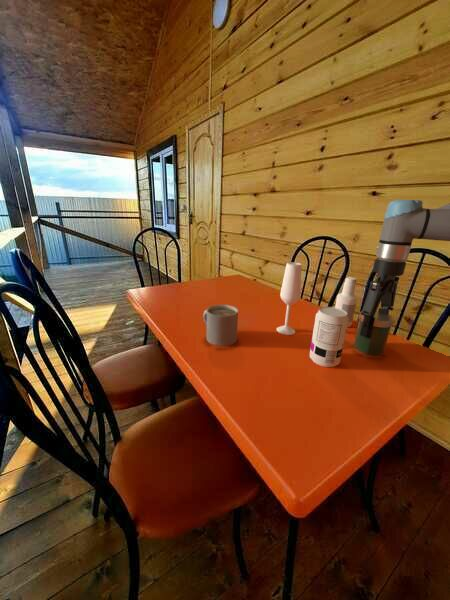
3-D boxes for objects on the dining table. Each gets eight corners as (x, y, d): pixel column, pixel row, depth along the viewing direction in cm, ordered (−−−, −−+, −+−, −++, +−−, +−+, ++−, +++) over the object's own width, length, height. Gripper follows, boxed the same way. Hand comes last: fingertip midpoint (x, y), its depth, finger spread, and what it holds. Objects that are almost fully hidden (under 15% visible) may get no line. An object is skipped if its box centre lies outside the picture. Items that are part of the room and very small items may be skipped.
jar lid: (354, 314, 82) (355, 308, 81) (384, 316, 80) (385, 311, 80) (365, 326, 73) (366, 320, 72) (398, 329, 72) (400, 322, 71)
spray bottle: (347, 329, 93) (357, 281, 87) (329, 323, 97) (337, 277, 91) (354, 324, 97) (364, 278, 91) (336, 318, 102) (344, 275, 96)
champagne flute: (274, 326, 93) (281, 261, 85) (292, 326, 94) (300, 261, 86) (279, 334, 87) (287, 265, 79) (298, 334, 87) (308, 265, 79)
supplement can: (303, 355, 75) (310, 307, 70) (326, 350, 78) (334, 305, 73) (321, 370, 68) (331, 319, 63) (346, 365, 70) (357, 315, 65)
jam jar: (381, 345, 82) (389, 315, 79) (386, 358, 75) (395, 325, 71) (352, 340, 85) (359, 310, 81) (354, 352, 78) (362, 320, 74)
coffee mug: (242, 341, 82) (244, 312, 78) (216, 349, 76) (217, 318, 73) (220, 325, 92) (221, 299, 89) (196, 331, 87) (195, 304, 84)
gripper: (391, 254, 80) (375, 320, 87) (358, 260, 67) (342, 336, 74) (419, 258, 74) (399, 328, 82) (389, 265, 61) (368, 347, 69)
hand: (372, 332), depth 78 cm, fingers closed on jar lid, 9 cm apart
